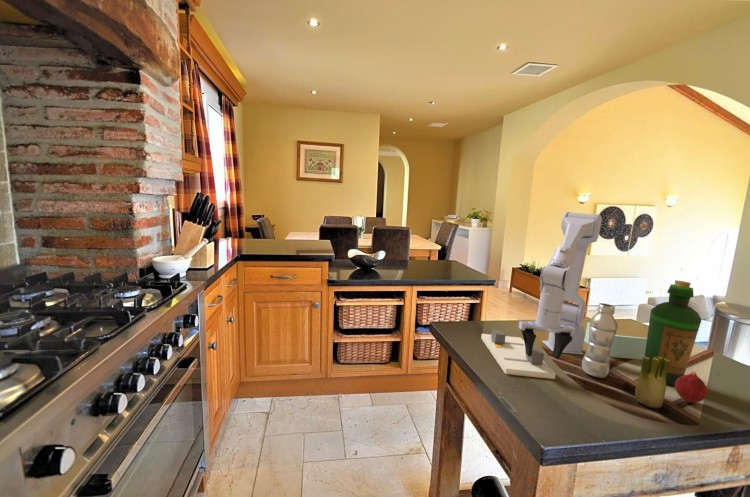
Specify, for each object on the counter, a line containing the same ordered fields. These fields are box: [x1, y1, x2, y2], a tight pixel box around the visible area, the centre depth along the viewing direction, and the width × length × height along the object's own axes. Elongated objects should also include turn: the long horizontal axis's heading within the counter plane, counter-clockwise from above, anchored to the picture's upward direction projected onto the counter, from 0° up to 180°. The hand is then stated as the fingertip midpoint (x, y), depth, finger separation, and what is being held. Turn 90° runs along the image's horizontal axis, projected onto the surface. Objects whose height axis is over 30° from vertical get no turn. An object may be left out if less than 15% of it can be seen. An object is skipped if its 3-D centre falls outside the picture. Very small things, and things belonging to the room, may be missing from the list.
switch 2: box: [526, 347, 545, 365], centre depth 95 cm, size 3×4×3 cm
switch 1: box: [490, 328, 507, 344], centre depth 107 cm, size 3×4×3 cm
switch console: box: [480, 333, 557, 380], centre depth 102 cm, size 13×24×2 cm, turn 178°
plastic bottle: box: [581, 303, 619, 379], centre depth 93 cm, size 6×7×20 cm
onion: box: [674, 370, 708, 404], centre depth 84 cm, size 6×6×8 cm
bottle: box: [645, 280, 702, 386], centre depth 94 cm, size 11×11×28 cm
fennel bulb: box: [634, 356, 670, 410], centre depth 81 cm, size 6×5×12 cm
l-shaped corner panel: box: [584, 321, 647, 361], centre depth 114 cm, size 12×12×8 cm
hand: (541, 356), depth 95 cm, fingers open, 7 cm apart
